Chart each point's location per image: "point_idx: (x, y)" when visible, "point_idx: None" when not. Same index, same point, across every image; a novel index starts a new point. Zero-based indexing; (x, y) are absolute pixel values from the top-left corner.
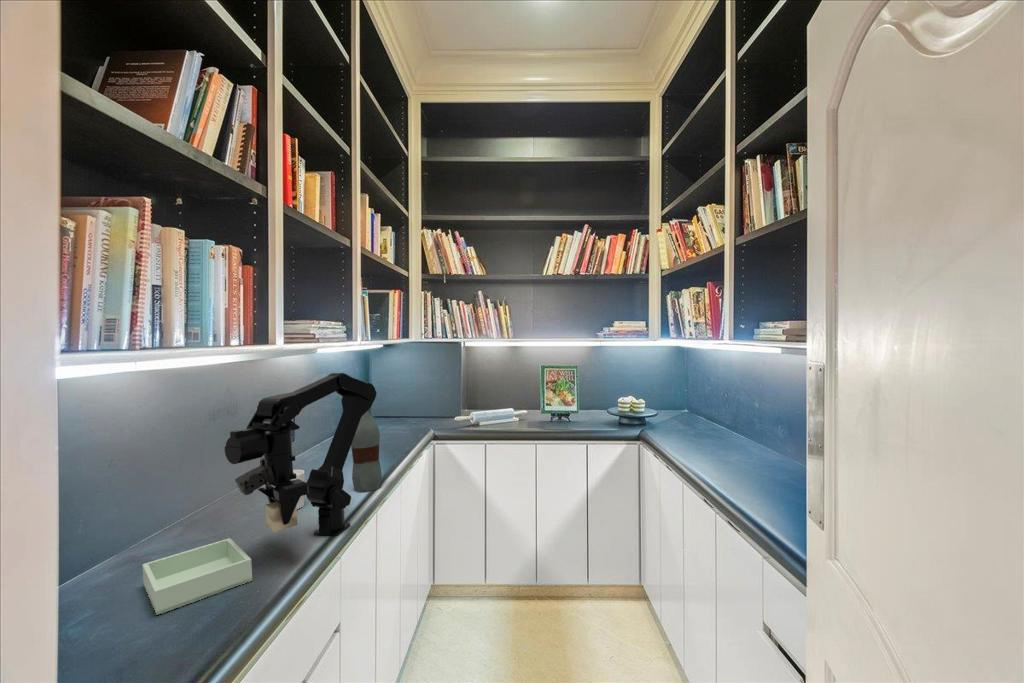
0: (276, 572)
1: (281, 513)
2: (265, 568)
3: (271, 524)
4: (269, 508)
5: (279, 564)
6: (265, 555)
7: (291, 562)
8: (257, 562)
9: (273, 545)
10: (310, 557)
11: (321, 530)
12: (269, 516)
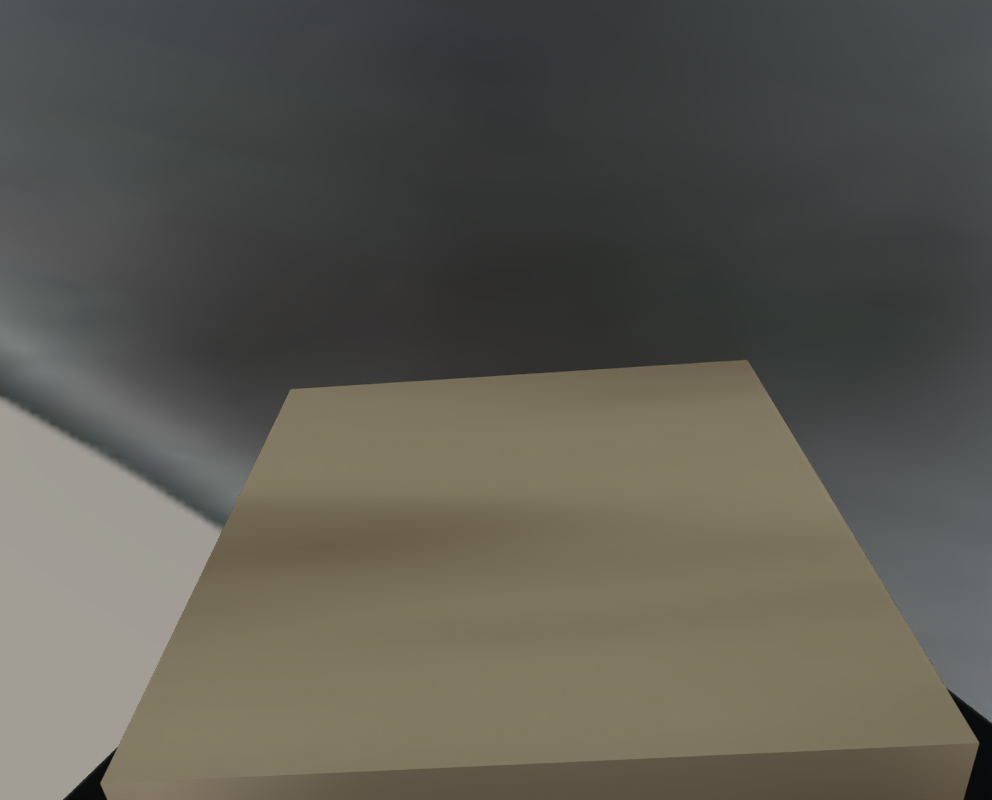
0: (37, 154)
1: (102, 794)
2: (243, 77)
3: (400, 446)
4: (468, 734)
5: (248, 237)
6: (653, 174)
7: (212, 347)
8: (512, 38)
9: (877, 321)
10: (209, 509)
11: None
12: (509, 538)
